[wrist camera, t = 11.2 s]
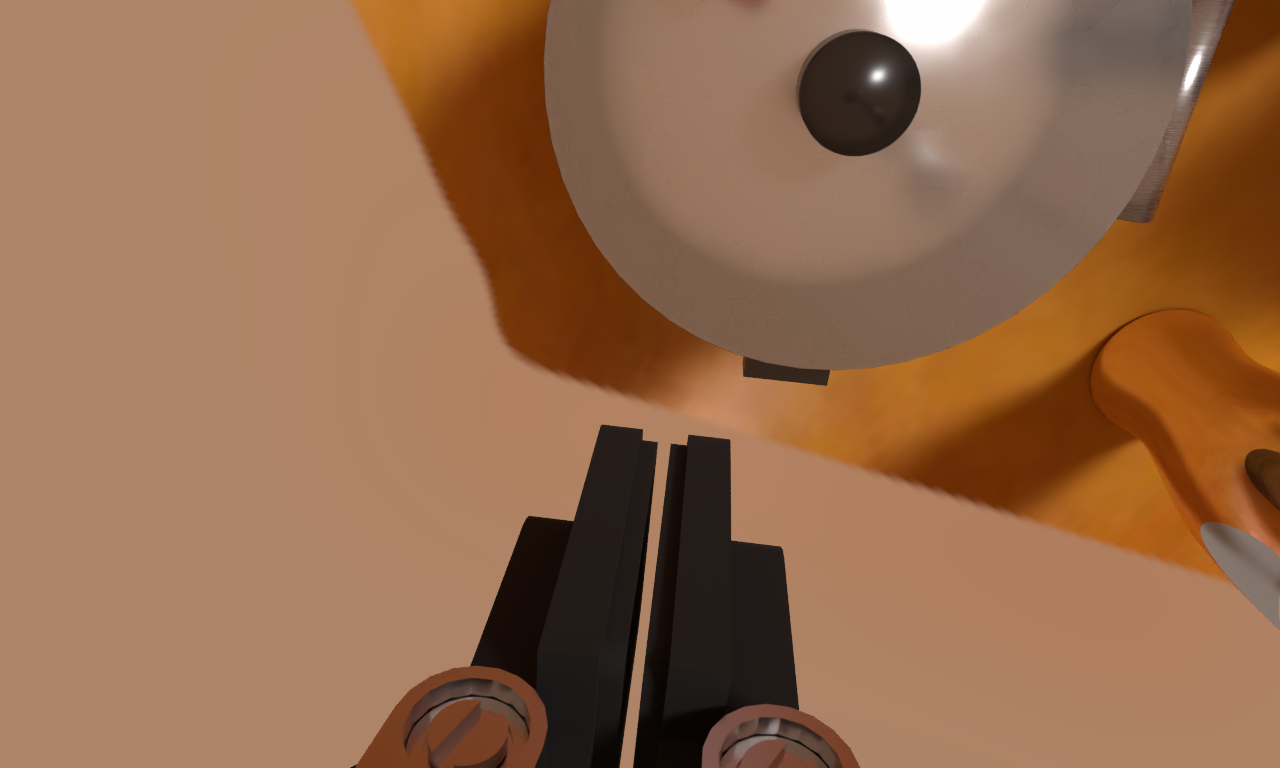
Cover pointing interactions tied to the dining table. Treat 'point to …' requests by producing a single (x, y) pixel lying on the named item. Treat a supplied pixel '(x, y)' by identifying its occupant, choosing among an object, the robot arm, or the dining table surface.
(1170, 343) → the beer glass
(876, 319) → the lid
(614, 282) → the dining table surface
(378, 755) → the robot arm
